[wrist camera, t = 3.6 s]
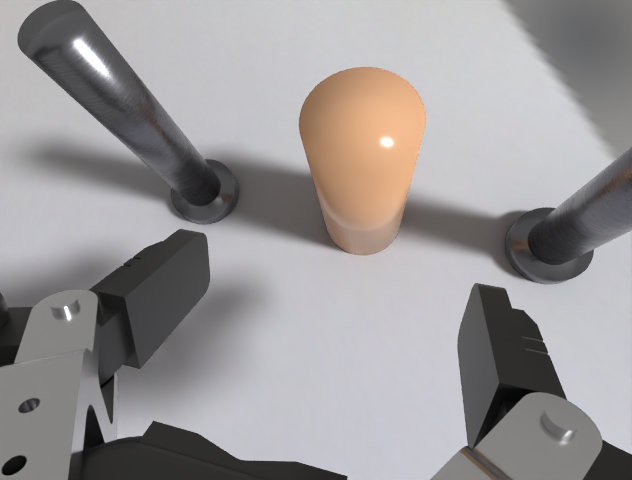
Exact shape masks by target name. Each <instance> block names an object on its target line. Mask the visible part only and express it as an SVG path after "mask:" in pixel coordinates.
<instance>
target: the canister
mask: <svg viewBox="0 0 632 480" xmlns="http://www.w3.org/2000/svg"><path fill="white" fill-rule="evenodd" d="M425 123H426V114H425V108H424V104H423V102H422V99H421V97H420V96H419V94H418V92H417V91H416V90H415V88H414V87H413V86H412V85H411V84H410V83H409V82H408V81H406V80H405V79H403V78H402V77H400V76H399V75H397V74H395V73H392V72H390V71H387V70H383V69H379V68H372V67H359V68H352V69H347V70H344V71H340V72H338V73H336V74H333V75H331V76H330V77H328V78H326V79H325V80H323V81H322V82H320V83H319V84H318V85H317V86H316V87H315V88H314V89H313V90H312V91H311V92H310V94H309V95H308V97H307V98H306V100H305V102H304V104H303V106H302V109H301V112H300V117H299V130H300V135H301V139H302V143H303V146H304V150H305V153H306V157H307V160H308V164H309V167H310V171H311V174H312V178H313V181H314V185H315V188H316V192H317V195H318V199H319V202H320V206H321V209H322V213H323V216H324V220H325V223H326V227H327V230H328V233H329V235H330V237H331V239H332V240H333V242H334V243H335V244H336V245H337V246H338V247H340V248H341V249H342V250H344V251H346V252H349V253H351V254H355V255H371V254H375V253H378V252H380V251H382V250H384V249H385V248H386V247H388V246H389V245H390V244H391V243H392V242H393V241H394V239H395V238H396V236H397V234H398V232H399V228H400V224H401V221H402V217H403V213H404V209H405V205H406V201H407V197H408V193H409V189H410V185H411V181H412V177H413V173H414V169H415V165H416V161H417V157H418V153H419V149H420V145H421V141H422V138H423V134H424V129H425Z"/></svg>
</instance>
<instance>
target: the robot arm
mask: <svg viewBox="0 0 632 480" xmlns="http://www.w3.org/2000/svg"><path fill="white" fill-rule="evenodd" d="M209 282H210V268H209V256H208V243H207V237H206V235H205V234H204V233H200V232H195V231H189V230H183V229H179V230H177V231H176V232H175V233H173V234H172V235H171V236H169V237H168V238H167V239H166V240H164V241H161V242H159V243H156V244H154V245H151V246H149V247H146V248H144V249H143V250H142V251H140V252H139V253H138V254H136V255H135V256H134V257H133V259H132V258H131V259H130V260H128V261H127V262H126V263H124V266H120V267H119V268H118V269H116V270H115V271H114V272H112V273H111V274H110V275H108V276H107V277H106V278H104V279H103V280H102V281H100V282H99V283H97V284H96V285H95V286H93V287H92V288H91V289H89V290H84V289H72V290H66V291H61V292H58V293H55V294H52V295H50V296H48V297H46V298H44V299H42V300H41V301H40V302H38V303H37V304H36V305H35V306H34V307H21V308H7V306H6V304H5V301H4V299H3V296H2V294H1V293H0V480H347V477H348V476H344V475H341V474H337V473H334V472H330V471H327V470H323V469H320V468H316V467H313V466H309V465H306V464H302V463H299V462H285V461H244V460H239V459H237V458H235V457H234V456H232V455H230V454H229V453H227V452H226V451H224V450H223V449H221V448H220V447H218V446H216V445H215V444H213V443H212V442H210V441H209V440H207V439H205V438H204V437H202V436H201V435H199V434H198V433H194V432H191V431H187V430H184V429H180V428H177V427H173V426H170V425H166V424H163V423H159V422H156V421H153V422H152V424H151V425H150V426H149V428H148V429H147V431H146V432H145V433H144V435H143V436H137V437H127V438H122V439H117V411H118V375H117V372H116V371H117V370H118V369H119V368H120V367H121V366H122V365H127V366H131V367H135V368H138V369H140V368H141V367H142V366H143V365H144V364H145V363H146V361H147V360H148V359H149V358H150V357H151V356H152V354H153V353H154V352H155V351H156V350H157V349H158V348H159V346H160V345H161V344H162V343H163V342H164V341H165V339H166V338H167V337H168V336H169V335H170V334H171V332H172V331H173V330H174V329H175V328H176V327H177V326H178V324H179V323H180V322H181V321H182V320H183V319H184V317H185V316H186V315H187V314H188V313H189V312H190V311H191V309H192V308H193V307H194V306H195V305H196V304H197V302H198V301H199V300H200V299H201V298H202V297H203V295H204V294H205V293H206V291H207V289H208V286H209ZM458 358H459V367H460V376H461V385H462V395H463V404H464V413H465V422H466V432H467V441H468V446H465V447H463V448H462V449H461V450H459V451H458V452H457V453H456V454H455V455H454V456H453V457H452V458H451V459H450V460H449V461H448V462H447V463H446V464H445V465H444V466H443V467H442V468H441V469H440V470H439V471H438V472H437V473H436V474H435V475H434V476H433V477H432V478H431V479H430V480H632V455H631V454H629V453H627V452H625V451H623V450H621V449H619V448H617V447H615V446H613V445H611V444H609V443H607V442H606V441H604V440H602V437H601V434H600V432H599V430H598V428H597V426H596V425H595V423H594V422H593V421H592V420H591V418H590V417H589V416H588V415H587V414H586V413H584V412H583V411H582V410H581V409H580V408H578V407H577V406H575V405H574V404H572V403H571V402H569V401H567V399H566V396H565V394H564V391H563V389H562V386H561V384H560V381H559V379H558V376H557V374H556V371H555V369H554V366H553V364H552V361H551V358H550V356H549V355H548V351H547V348H546V346H545V343H543V338H542V336H541V333H540V331H539V328H538V326H537V324H536V323H535V322H534V321H533V320H532V319H531V318H530V317H529V316H528V315H527V314H526V313H525V311H524V310H518V309H513V308H512V307H511V304H510V301H509V298H508V294H507V291H506V289H505V288H501V287H495V286H490V285H484V284H478V283H475V284H474V286H473V288H472V290H471V293H470V297H469V300H468V303H467V306H466V309H465V313H464V316H463V319H462V322H461V326H460V329H459V335H458Z"/></svg>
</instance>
